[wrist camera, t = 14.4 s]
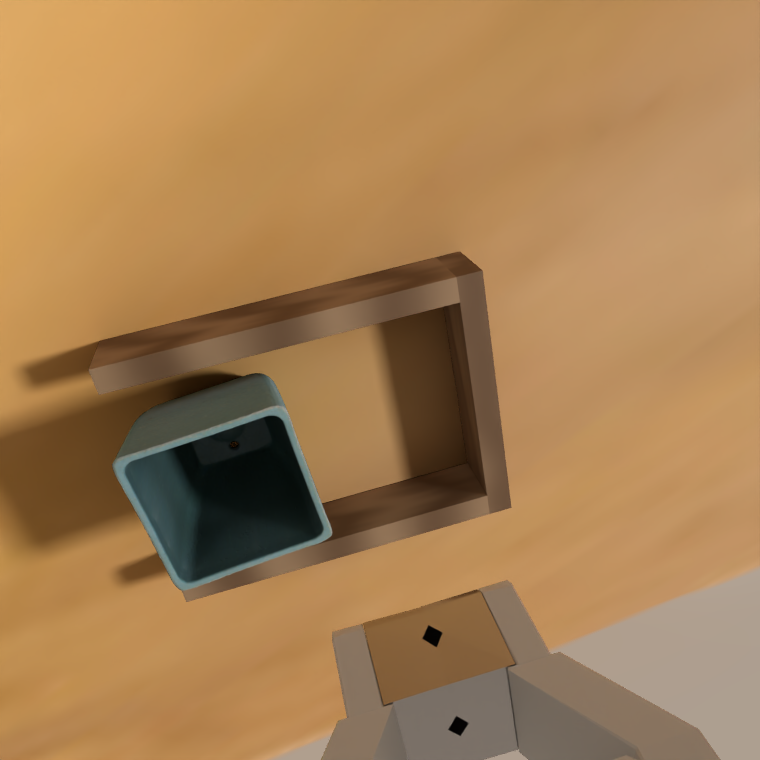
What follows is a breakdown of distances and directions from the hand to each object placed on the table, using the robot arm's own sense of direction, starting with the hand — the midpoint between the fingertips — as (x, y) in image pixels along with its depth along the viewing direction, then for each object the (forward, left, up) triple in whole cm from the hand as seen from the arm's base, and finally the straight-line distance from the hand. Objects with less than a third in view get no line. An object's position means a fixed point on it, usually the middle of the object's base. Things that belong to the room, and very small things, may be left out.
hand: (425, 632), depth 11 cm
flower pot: (+4, -12, -31) cm, 34 cm away
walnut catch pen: (+8, -10, -31) cm, 34 cm away
